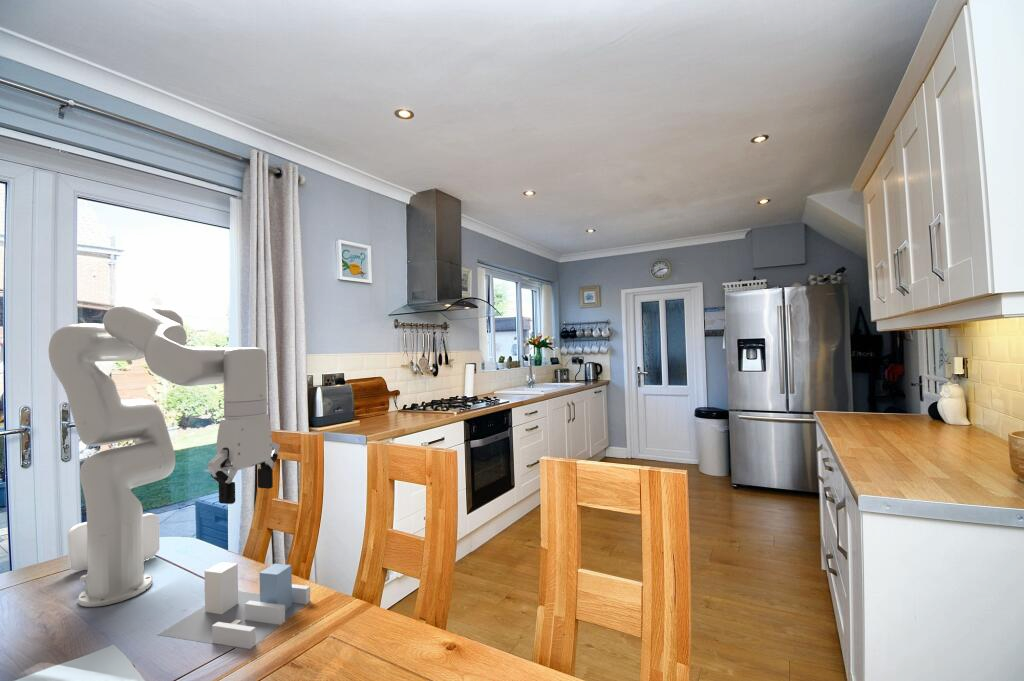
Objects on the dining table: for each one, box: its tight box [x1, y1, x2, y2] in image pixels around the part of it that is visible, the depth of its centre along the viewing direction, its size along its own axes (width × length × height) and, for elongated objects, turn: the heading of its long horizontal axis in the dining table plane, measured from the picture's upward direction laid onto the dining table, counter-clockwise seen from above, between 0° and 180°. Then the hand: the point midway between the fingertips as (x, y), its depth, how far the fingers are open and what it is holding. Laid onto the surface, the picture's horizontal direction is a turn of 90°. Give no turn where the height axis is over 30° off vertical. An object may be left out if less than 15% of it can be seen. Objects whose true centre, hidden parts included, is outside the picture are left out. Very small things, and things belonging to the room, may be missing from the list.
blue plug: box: [259, 563, 293, 611], centre depth 94 cm, size 4×4×8 cm
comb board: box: [157, 583, 312, 651], centre depth 91 cm, size 20×16×4 cm
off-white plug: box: [203, 561, 239, 614], centre depth 95 cm, size 4×4×8 cm
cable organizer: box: [66, 512, 160, 571], centre depth 119 cm, size 15×11×12 cm
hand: (247, 495), depth 95 cm, fingers open, 9 cm apart
